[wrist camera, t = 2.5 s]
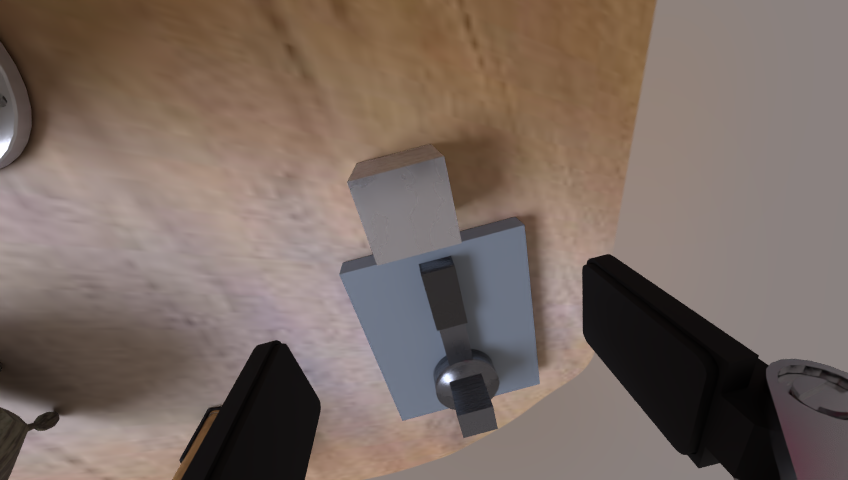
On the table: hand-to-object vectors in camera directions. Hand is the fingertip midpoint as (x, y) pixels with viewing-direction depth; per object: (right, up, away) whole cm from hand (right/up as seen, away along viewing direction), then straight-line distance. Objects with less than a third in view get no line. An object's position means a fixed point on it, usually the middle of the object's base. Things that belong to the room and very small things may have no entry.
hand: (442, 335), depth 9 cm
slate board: (+2, -6, +22) cm, 22 cm away
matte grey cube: (-2, +7, +15) cm, 17 cm away
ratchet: (+2, -6, +20) cm, 21 cm away
